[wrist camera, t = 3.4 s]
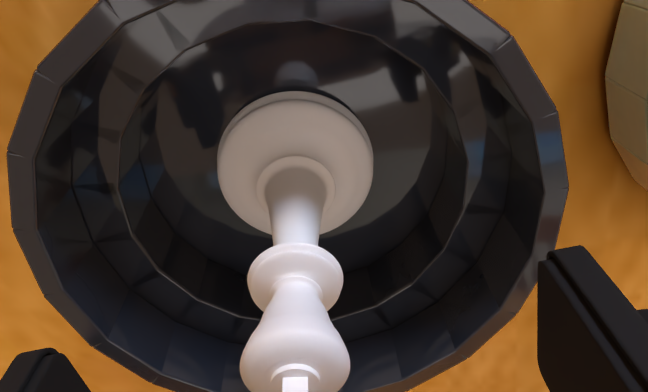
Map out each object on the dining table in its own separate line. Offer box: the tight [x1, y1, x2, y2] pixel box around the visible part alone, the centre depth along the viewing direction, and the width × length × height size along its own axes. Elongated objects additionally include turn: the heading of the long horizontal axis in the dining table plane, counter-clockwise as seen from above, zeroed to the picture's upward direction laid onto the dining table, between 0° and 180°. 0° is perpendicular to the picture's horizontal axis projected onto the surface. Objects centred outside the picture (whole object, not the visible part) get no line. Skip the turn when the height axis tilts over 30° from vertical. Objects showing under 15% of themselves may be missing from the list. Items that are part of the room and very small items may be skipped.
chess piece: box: [217, 91, 373, 392], centre depth 12 cm, size 5×5×10 cm
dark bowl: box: [7, 0, 569, 392], centre depth 14 cm, size 13×13×4 cm
